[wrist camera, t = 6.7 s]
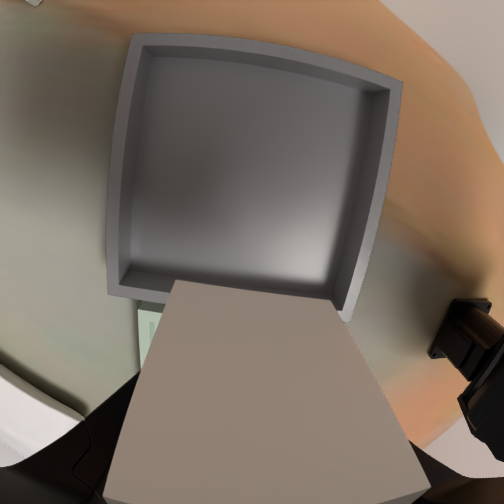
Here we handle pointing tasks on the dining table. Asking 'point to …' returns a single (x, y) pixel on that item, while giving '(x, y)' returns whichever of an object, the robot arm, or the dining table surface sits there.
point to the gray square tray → (246, 169)
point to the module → (258, 409)
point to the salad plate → (30, 415)
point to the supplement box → (34, 2)
